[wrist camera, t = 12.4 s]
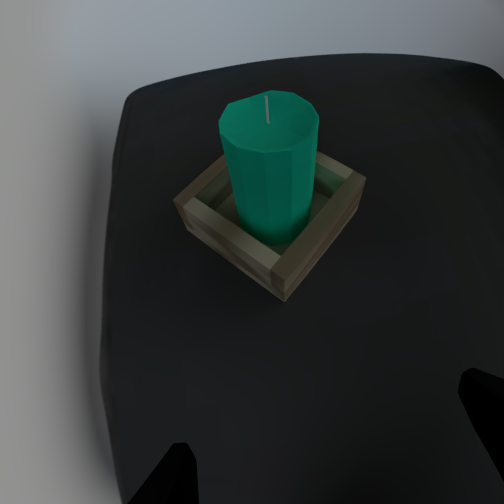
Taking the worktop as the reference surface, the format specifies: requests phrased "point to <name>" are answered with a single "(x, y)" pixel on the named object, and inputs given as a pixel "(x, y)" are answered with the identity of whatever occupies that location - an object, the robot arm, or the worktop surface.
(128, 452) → the worktop surface
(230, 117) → the candle
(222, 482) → the worktop surface
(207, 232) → the candle holder
